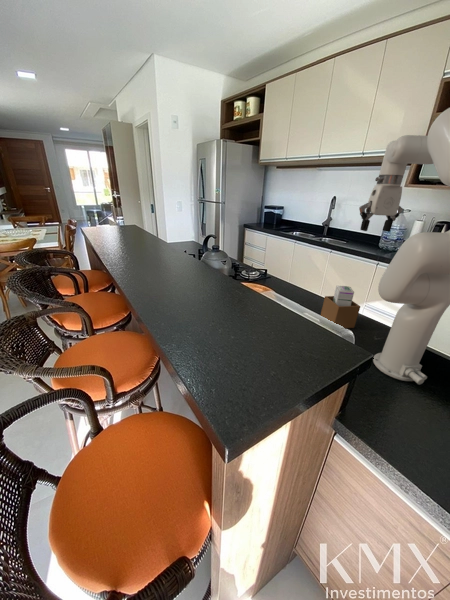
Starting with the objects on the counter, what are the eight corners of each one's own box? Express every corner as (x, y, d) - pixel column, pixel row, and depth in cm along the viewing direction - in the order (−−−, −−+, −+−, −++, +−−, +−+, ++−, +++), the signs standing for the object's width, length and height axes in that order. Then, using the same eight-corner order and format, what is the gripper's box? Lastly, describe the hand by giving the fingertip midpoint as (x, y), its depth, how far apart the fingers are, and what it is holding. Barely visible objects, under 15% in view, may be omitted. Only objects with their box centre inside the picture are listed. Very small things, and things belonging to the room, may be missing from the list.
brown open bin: (354, 327, 99) (360, 306, 95) (333, 328, 98) (338, 306, 94) (339, 315, 108) (345, 295, 104) (320, 316, 107) (324, 296, 103)
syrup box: (346, 325, 100) (355, 291, 94) (330, 323, 101) (339, 290, 95) (342, 318, 105) (351, 286, 99) (328, 316, 106) (336, 284, 100)
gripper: (374, 180, 83) (360, 232, 90) (419, 182, 86) (402, 233, 93) (360, 180, 90) (348, 228, 97) (402, 182, 93) (387, 229, 100)
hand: (374, 230), depth 95 cm, fingers open, 9 cm apart
